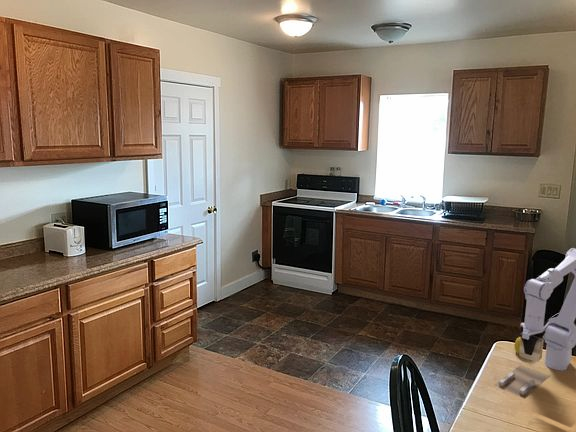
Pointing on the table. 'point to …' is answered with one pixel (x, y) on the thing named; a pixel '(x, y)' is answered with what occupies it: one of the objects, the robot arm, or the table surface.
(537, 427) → the table surface
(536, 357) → the block
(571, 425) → the table surface
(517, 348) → the lemon
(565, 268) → the robot arm
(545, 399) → the table surface
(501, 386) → the board
